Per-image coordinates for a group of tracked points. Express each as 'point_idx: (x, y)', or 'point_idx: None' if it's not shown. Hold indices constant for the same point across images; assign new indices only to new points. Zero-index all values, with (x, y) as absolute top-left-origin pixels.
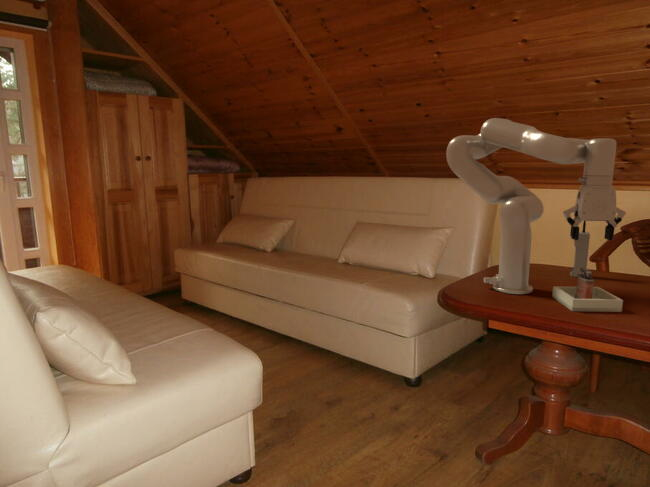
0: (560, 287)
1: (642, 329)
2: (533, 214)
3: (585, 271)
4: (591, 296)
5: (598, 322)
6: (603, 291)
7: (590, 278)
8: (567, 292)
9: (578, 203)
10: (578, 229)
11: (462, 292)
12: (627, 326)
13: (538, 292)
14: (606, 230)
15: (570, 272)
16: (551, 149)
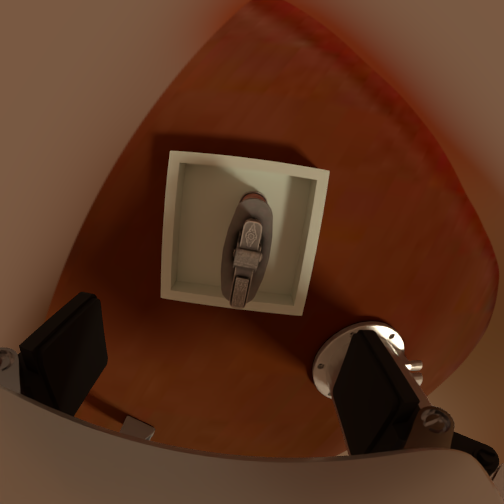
0: (285, 305)
1: (221, 31)
2: None
3: (258, 249)
4: (247, 196)
5: (301, 79)
6: (172, 250)
7: (237, 234)
8: (261, 295)
9: None
10: (395, 385)
11: (463, 334)
12: (244, 48)
13: (309, 339)
14: (77, 387)
15: (149, 439)
16: None
